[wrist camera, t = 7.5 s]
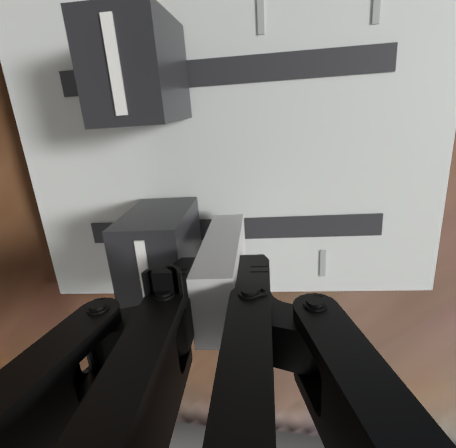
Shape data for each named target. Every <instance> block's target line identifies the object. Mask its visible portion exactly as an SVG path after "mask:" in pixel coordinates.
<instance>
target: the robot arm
mask: <svg viewBox="0 0 456 448" xmlns="http://www.w3.org/2000/svg"><path fill="white" fill-rule="evenodd" d="M141 277H142V283H143V288H144V294H145V296H144V298H143V300H142V301H141V303H140V305H137V306H133V307H128V308H123V309H120V304H119V302H118V301H117V300H116V299H113V298H100V299H99V298H98V299H94V300H93V301H90V302H88V303H86V304H84V305H83V306H81V307H80V308H79V309H77V310H76V311H75V312H73V313H72V314H71V315H70V316H68V317H67V318H66V319H64V320H63V321H62V322H61V323H59V324H58V325H57V326H55V327H54V328H53V329H52V330H50V331H49V332H48V333H46V334H45V335H44V336H43V337H41V338H40V339H39V340H37V341H36V342H35V343H34V344H32V345H31V346H30V347H28V348H27V349H26V350H25V351H23V352H22V353H21V354H19V355H18V356H17V357H16V358H14V359H13V360H12V361H10V362H9V363H8V364H7V365H5V366H4V367H3V368H2V369H0V448H169V445H170V441H171V437H172V433H173V430H174V426H175V422H176V419H177V415H178V411H179V408H180V404H181V400H182V396H183V393H184V389H185V385H186V381H187V378H188V374H189V370H190V367H191V363H192V350H191V345H192V341H193V338H194V344H195V350H220V351H219V356H218V362H217V368H216V373H215V379H214V385H213V390H212V396H211V402H210V408H209V413H208V419H207V425H206V431H205V436H204V442H203V447H202V448H276V429H275V401H274V372H273V367H275V368H279V369H283V370H286V371H290V372H294V377H295V381H296V383H297V385H298V388H299V390H300V392H301V395H302V397H303V399H304V401H305V404H306V406H307V408H308V411H309V413H310V415H311V417H312V420H313V422H314V424H315V427H316V429H317V431H318V433H319V436H320V438H321V440H322V442H323V445H324V447H325V448H456V446H455V444H454V443H453V442H452V441H451V440H450V438H449V437H448V436H447V435H446V434H445V432H444V431H443V430H442V429H441V427H440V426H439V425H438V424H437V423H436V421H435V420H434V419H433V418H432V417H431V415H430V414H429V413H428V412H427V411H426V409H425V408H424V407H423V406H422V404H421V403H420V402H419V401H418V400H417V398H416V397H415V396H414V395H413V394H412V392H411V391H410V390H409V389H408V388H407V386H406V385H405V384H404V383H403V381H402V380H401V379H400V378H399V377H398V375H397V374H396V373H395V372H394V371H393V369H392V368H391V367H390V366H389V365H388V363H387V362H386V361H385V360H384V358H383V357H382V356H381V355H380V354H379V352H378V351H377V350H376V349H375V348H374V346H373V345H372V344H371V343H370V342H369V340H368V339H367V338H366V337H365V335H364V334H363V333H362V332H361V331H360V329H359V328H358V327H357V326H356V325H355V323H354V322H353V321H352V320H351V319H350V317H349V316H348V315H347V314H346V312H345V311H344V310H343V309H342V308H341V306H340V305H339V304H338V303H337V302H336V301H335V300H334V299H333V298H331V297H328V296H326V295H323V294H318V293H313V294H305V295H301V296H299V297H298V298H296V299H295V300H294V302H293V304H289V303H285V302H282V301H279V300H277V299H276V298H274V297H273V295H272V294H271V291H270V268H269V259H268V258H267V257H266V256H265V255H264V254H258V255H246V247H245V231H244V215H243V214H236V215H214V216H213V218H212V220H211V223H210V225H209V227H208V230H207V232H206V234H205V237H204V239H203V241H202V244H201V246H200V248H199V251H198V253H197V256H196V257H184V258H180V259H178V260H177V261H176V262H174V263H173V265H171V264H163V265H156V266H153V267H150V268H148V269H146V270H144V271H143V272H142V273H141ZM86 356H87V360H88V364H89V366H88V367H87V368H86V369H85V370H84V371H81V368H80V365H79V363H80V362H81V361H82V360H83V359H84V358H85V357H86Z"/></svg>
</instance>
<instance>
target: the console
mask: <svg viewBox="0 0 456 448" xmlns="http://www.w3.org/2000/svg"><path fill="white" fill-rule="evenodd" d="M76 1H85V0H0V62H1V65H2V69H3V73H4V77H5V81H6V85H7V89H8V93H9V96H10V100H11V104H12V108H13V112H14V116H15V120H16V123H17V127H18V131H19V135H20V139H21V143H22V147H23V151H24V154H25V158H26V162H27V166H28V170H29V174H30V178H31V182H32V185H33V189H34V193H35V197H36V201H37V205H38V209H39V212H40V216H41V220H42V224H43V228H44V232H45V236H46V240H47V243H48V247H49V251H50V255H51V259H52V263H53V267H54V270H55V274H56V278H57V282H58V286H59V290H60V294H100V293H114V290H113V285H112V280H111V275H110V270H109V265H108V260H107V255H106V250H105V245H104V240H103V235H102V232H103V231H104V230H105V229H106V228H108V227H109V226H110V225H111V224H112V223H114V222H115V221H116V220H117V219H119V218H120V217H121V216H122V215H123V214H125V213H126V212H127V211H128V210H130V209H131V208H132V207H133V206H134V205H136V204H137V203H138V202H139V201H141V200H142V199H156V198H180V197H197V201H198V211H199V221H200V231H201V241H203V239H204V237H205V234H206V232H207V230H208V227H209V225H210V223H211V220H212V218H213V216H214V215H236V214H243V215H244V231H245V247H246V255H258V254H264V255H265V256H266V257H267V258H268V259H269V268H270V291H271V292H290V291H384V290H432V289H433V282H434V275H435V268H436V261H437V254H438V247H439V240H440V234H441V227H442V220H443V213H444V206H445V199H446V192H447V185H448V178H449V171H450V164H451V157H452V150H453V143H454V137H455V130H456V0H157V1H158V2H159V3H160V4H161V5H162V6H163V7H164V8H165V9H166V10H167V11H168V12H169V13H170V14H172V15H173V16H174V17H175V18H176V19H177V20H178V21H179V22H180V23H181V24H182V25H183V29H184V40H185V50H186V60H187V71H188V81H189V91H190V101H191V112H192V118H189V119H185V120H181V121H177V122H172V123H168V124H162V125H147V126H131V127H116V128H101V129H86V130H85V126H84V121H83V116H82V111H81V106H80V101H79V96H78V91H77V86H76V81H75V76H74V71H73V65H72V60H71V55H70V50H69V45H68V40H67V35H66V30H65V25H64V20H63V15H62V10H61V5H60V3H66V2H76Z"/></svg>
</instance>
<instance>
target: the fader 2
mask: <svg viewBox="0 0 456 448" xmlns="http://www.w3.org/2000/svg"><path fill="white" fill-rule="evenodd" d="M102 235H103V240H104V245H105V250H106V255H107V260H108V265H109V270H110V275H111V280H112V285H113V290H114V295H115V299H116V300H117V301H118V302H119V304H120V309H123V308H128V307H133V306H137V305H140V303H141V301H142V300H143V298H144V296H145V294H144V288H143V283H142V277H141V273H142V272H143V271H144V270H146V269H148V268H150V267H153V266H156V265H163V264H171V265H173V263H174V262H176V261H177V260H178V259H180V258H184V257H196V256H197V253H198V251H199V248H200V246H201V244H202V241H201V231H200V221H199V211H198V201H197V197H180V198H156V199H142V200H141V201H139V202H138V203H137V204H136V205H134V206H133V207H132V208H131V209H130V210H128V211H127V212H126V213H125V214H123V215H122V216H121V217H120V218H119V219H117V220H116V221H115V222H114V223H112V224H111V225H110V226H109V227H108V228H106V229H105V230H104V231H103V232H102Z"/></svg>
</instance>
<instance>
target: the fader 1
mask: <svg viewBox="0 0 456 448" xmlns="http://www.w3.org/2000/svg"><path fill="white" fill-rule="evenodd" d="M60 5H61V10H62V15H63V20H64V25H65V30H66V35H67V40H68V45H69V50H70V55H71V60H72V65H73V71H74V76H75V81H76V86H77V91H78V96H79V101H80V106H81V111H82V116H83V121H84V126H85V130H86V129H101V128H116V127H131V126H147V125H162V124H168V123H172V122H177V121H181V120H185V119H189V118H192V112H191V101H190V91H189V81H188V71H187V60H186V50H185V40H184V29H183V25H182V24H181V23H180V22H179V21H178V20H177V19H176V18H175V17H174V16H173V15H172V14H170V13H169V12H168V11H167V10H166V9H165V8H164V7H163V6H162V5H161V4H160V3H159V2H158V1H157V0H85V1H76V2H66V3H60Z"/></svg>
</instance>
